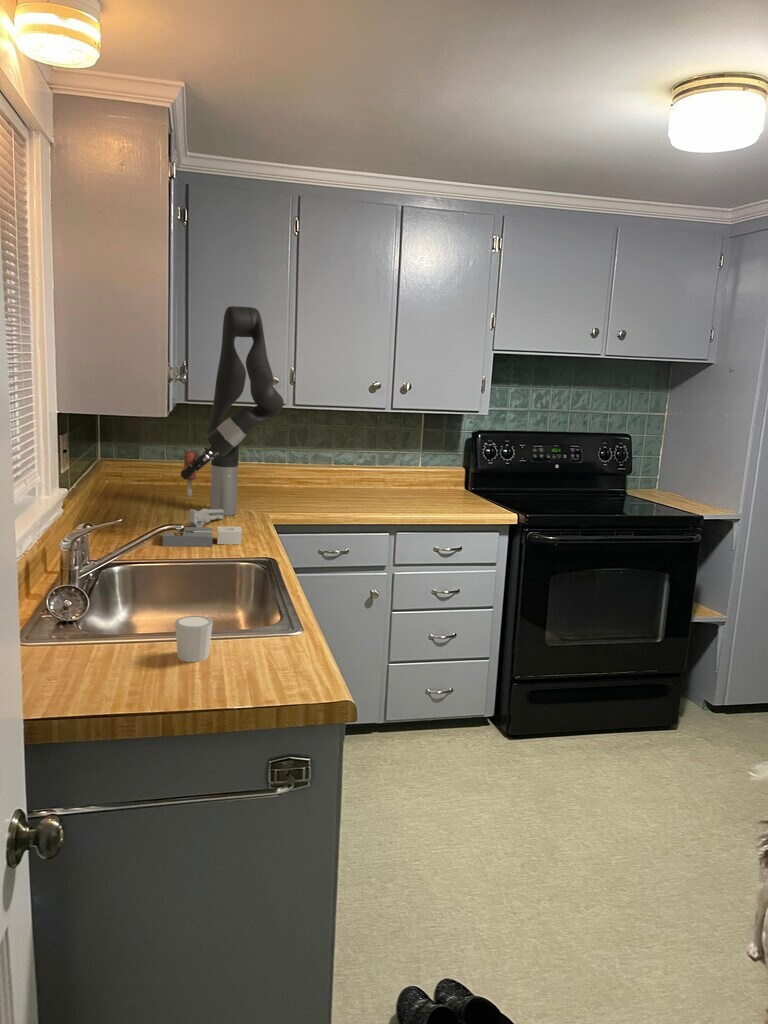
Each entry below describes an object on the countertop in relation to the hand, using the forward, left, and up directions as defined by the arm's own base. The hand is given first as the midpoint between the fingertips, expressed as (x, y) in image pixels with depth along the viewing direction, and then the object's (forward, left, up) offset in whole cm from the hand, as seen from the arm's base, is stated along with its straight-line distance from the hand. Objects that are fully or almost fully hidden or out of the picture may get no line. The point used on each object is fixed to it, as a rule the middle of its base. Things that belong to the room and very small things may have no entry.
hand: (183, 476), depth 226 cm
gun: (-19, +7, -20) cm, 29 cm away
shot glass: (+89, +5, -20) cm, 91 cm away
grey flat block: (0, +2, -20) cm, 20 cm away
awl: (0, +2, -6) cm, 6 cm away
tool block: (0, +14, -20) cm, 24 cm away
